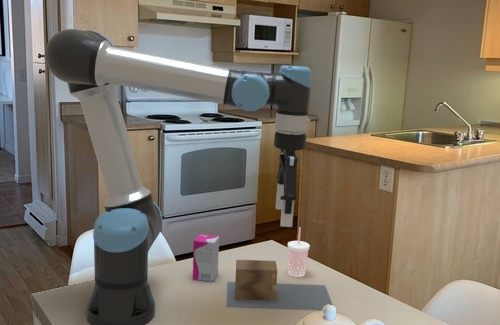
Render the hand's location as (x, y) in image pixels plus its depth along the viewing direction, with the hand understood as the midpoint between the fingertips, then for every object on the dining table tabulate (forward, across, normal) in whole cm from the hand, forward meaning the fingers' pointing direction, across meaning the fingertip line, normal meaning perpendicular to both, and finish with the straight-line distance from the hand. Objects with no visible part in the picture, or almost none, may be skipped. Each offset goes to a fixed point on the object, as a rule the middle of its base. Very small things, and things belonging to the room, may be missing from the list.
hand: (283, 217), depth 128 cm
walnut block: (+20, -1, +6) cm, 21 cm away
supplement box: (+22, +9, +18) cm, 30 cm away
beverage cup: (+21, +13, -7) cm, 26 cm away
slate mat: (+21, -1, 0) cm, 21 cm away
